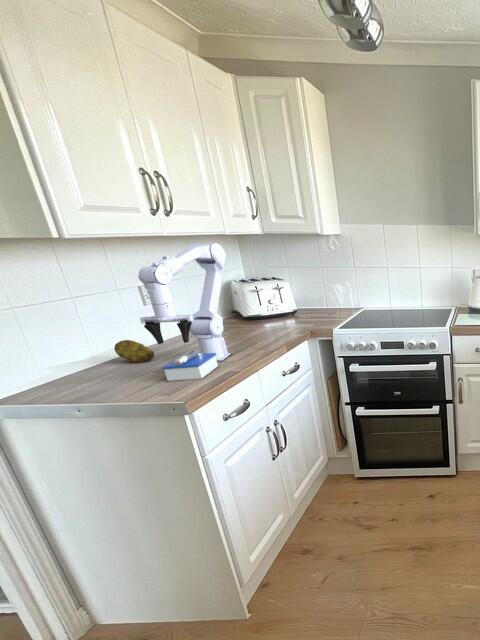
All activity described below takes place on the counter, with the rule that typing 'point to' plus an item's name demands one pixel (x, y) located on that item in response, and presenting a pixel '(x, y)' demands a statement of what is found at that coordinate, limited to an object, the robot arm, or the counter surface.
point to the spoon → (188, 357)
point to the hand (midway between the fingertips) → (173, 342)
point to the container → (191, 368)
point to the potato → (133, 351)
